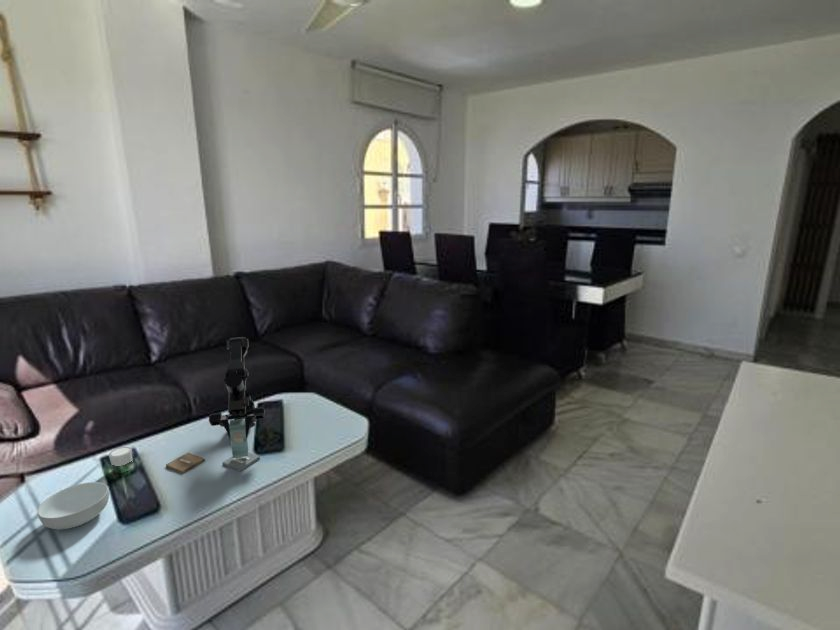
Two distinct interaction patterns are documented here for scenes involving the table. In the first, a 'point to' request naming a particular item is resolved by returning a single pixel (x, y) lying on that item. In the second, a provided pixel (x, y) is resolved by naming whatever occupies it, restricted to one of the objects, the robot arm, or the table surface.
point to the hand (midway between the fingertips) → (238, 439)
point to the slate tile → (241, 461)
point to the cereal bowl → (73, 505)
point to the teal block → (238, 438)
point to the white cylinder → (121, 456)
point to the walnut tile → (185, 462)
